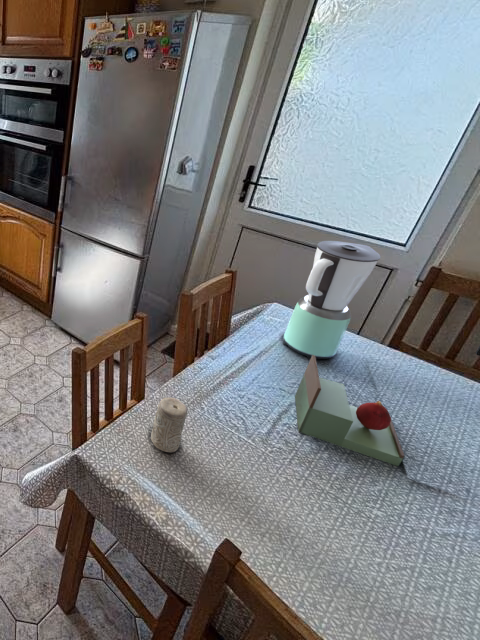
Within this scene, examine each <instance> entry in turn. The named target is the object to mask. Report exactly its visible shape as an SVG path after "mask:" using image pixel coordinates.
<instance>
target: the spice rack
mask: <svg viewBox="0 0 480 640" xmlns="http://www.w3.org/2000/svg"><path fill="white" fill-rule="evenodd" d="M294 402H295V412H296V424H297V432H298V433H300V434H304V435H307V436H310V437H312V438H315V439H318V440H321V441H324V442H326V443H330V444H332V445H335V446H338V447H340V448H343V449H347V450H350V451H352V452H356V453H358V454H361V455H364V456H367V457H370V458H372V459H376V460H378V461H382V462H383V463H387V464H390V465H392V466H396V467H399V466H400V465H401V463H402V461H403V460H404V458H405V454H404V450H403V448H402V445H401V442H400V440H399V436H398V434H397V431H396V429H395V426H394V423H393V420H392V419H391V422H390V425H389V426H388V427H387V428H385V429H382V430H372V429H368V428H365V427H364V426H363V425H362V424H361V422H360V421H359V420H358V418H357V415H356V410H357V409H358V407H359V406H358V407H357V406H354V405H352V404H350V403H349V398H348V395H347V391H346V387H345V384H344V383H341V382H337V381H334V380H330V379H327V378H323V377H320V374H319V369H318V364H317V358H316V357H315V355H312V357H311V359H310V360H309V362H308V364H307V367H306V368H305V371H304V373H303V376H302V378H301V380H300V382H299V385H298V387H297V389H296V392H295V394H294Z"/></svg>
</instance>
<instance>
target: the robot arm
mask: <svg viewBox="0 0 480 640" xmlns="http://www.w3.org/2000/svg"><path fill="white" fill-rule="evenodd" d="M475 354H476V355H477V356H478V357H480V345H479V346H478V347H477V349H476V351H475Z"/></svg>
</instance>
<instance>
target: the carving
mask: <svg viewBox="0 0 480 640" xmlns="http://www.w3.org/2000/svg"><path fill="white" fill-rule="evenodd" d="M187 415H188V407H187V405H186V404H184V402H182V401H181V400H179V399H178V398H175V397H168V396H167V397H163V398H162V399H161V400H160V401H159V402H158V404H157V410H156V411H155V416H154V420H153V425H152V429H151V433H150V439H151V442H152V444H153V446H154V447H155V448H157V449H158V450H160V451H162V452H166V453H175V452H176V451H178V449H179V447H180V444H181V441H182V437H183V435H182V434H183V430H184V426H185V422H186V418H187Z"/></svg>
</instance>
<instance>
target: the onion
mask: <svg viewBox="0 0 480 640" xmlns="http://www.w3.org/2000/svg"><path fill="white" fill-rule="evenodd" d="M356 415H357V418H358V420H359V421H360V422H361V424H362V425H363V426H364V427H365V428H368V429H372V430H382V429H385V428H387V427H388V426H389V425H390V422H391V420H392V416H391V415H390V412H389V410H388V409H387V408H386V407H385V406H383V404H382V402H381V401H380V400H377V401H375V402H365V403H361V404H360V405H359V406H358V409H357V410H356Z"/></svg>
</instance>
